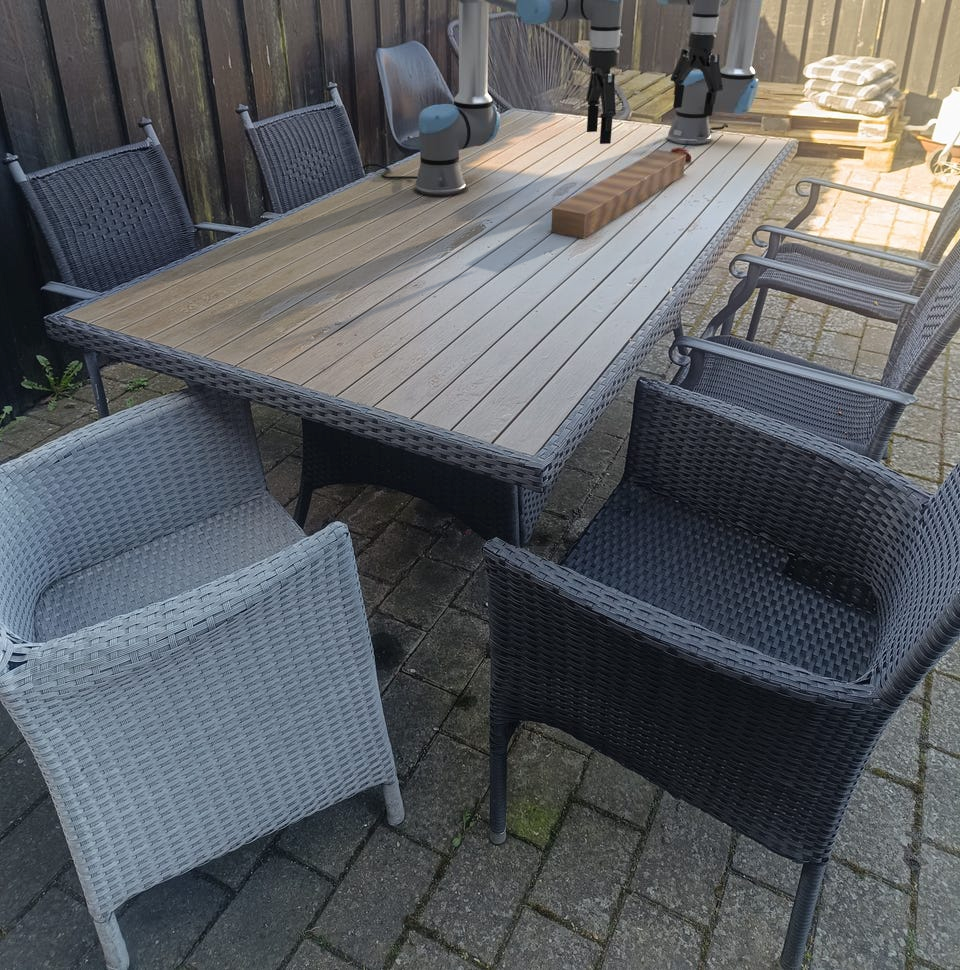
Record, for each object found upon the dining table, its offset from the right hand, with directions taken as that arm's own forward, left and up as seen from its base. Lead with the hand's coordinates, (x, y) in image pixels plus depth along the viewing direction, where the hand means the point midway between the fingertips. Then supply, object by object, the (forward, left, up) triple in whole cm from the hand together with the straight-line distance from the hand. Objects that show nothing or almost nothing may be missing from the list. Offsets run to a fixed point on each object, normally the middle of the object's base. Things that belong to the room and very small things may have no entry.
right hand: (692, 111), depth 256 cm
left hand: (+48, -17, +2) cm, 51 cm away
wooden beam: (+29, -13, -20) cm, 38 cm away
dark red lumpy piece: (-21, -5, -20) cm, 29 cm away
